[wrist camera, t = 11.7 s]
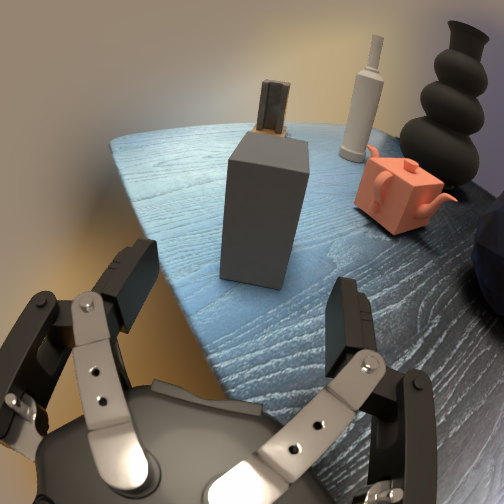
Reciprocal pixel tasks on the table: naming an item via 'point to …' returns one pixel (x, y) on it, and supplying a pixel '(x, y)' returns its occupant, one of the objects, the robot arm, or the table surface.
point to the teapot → (399, 193)
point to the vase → (450, 111)
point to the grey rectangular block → (262, 208)
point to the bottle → (363, 106)
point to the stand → (272, 108)
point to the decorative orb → (491, 255)
